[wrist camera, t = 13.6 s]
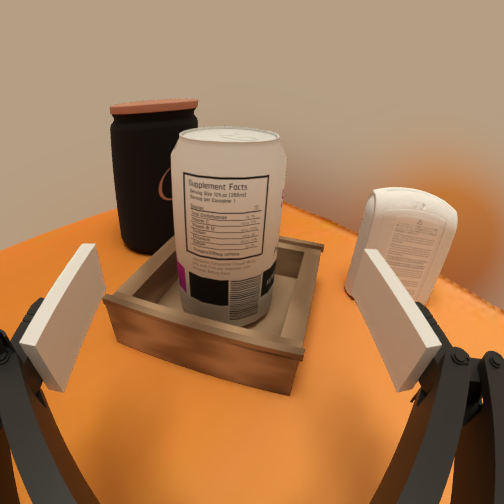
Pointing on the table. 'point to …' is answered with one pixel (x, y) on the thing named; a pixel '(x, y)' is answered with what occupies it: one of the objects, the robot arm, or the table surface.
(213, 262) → the supplement can
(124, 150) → the coffee jar
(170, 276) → the crate
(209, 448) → the table surface
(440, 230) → the white rounded block
